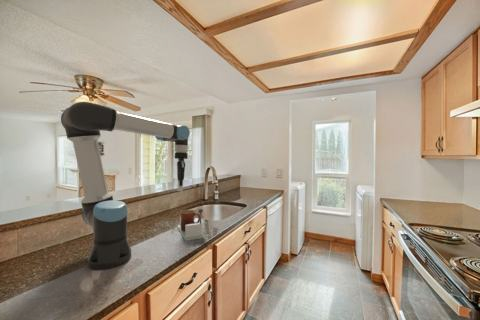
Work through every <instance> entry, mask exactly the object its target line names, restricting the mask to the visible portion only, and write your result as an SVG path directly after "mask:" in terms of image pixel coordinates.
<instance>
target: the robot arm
mask: <svg viewBox="0 0 480 320" xmlns="http://www.w3.org/2000/svg"><path fill="white" fill-rule="evenodd" d="M60 122H61V125H62V127H63V129H64V131H65V134H66V139H67V140H69V141H70V142H71V143H72V145H73V148H74V154H75V158H76V164H77V169H78V173H79V176H80V182H81V187H82V190H83V195H84V197H83V198H82V199H81V201H80V203H81V207H82V210H81V217H82V221H83V222H84V223H85V224H87V225H88V226H90V227H91V228H92V229H93V234H92V235H93V238H92V239H93V241H92V242H93V244H92V247H91V250H90V252H89V254H88V257H87V267H88V268H89V269H91V270H96V271H97V270H106V269H112V268H116V267H118V266H121V265H123V264H125V263H127V262H128V261H129V260H131V258H132V249H131V246H130V243H129V241H128V212H129V211H128V206H127V204H126V202H124V201H121V200H114V197H113V193H111V192H109V191H108V187H107V182H106V177H105V171H104V167H103V162H102V156H101V151H100V147H99V145H100V144H99V141H98V140H99V139H100V138H101V137H102V136H101V131H106V132H111V133H112V132H113V131H120V132H127V133H134V134H139V135H146V136H152V137H155V139H156V140H157V141H161V142H171V143H172V142H173V143H174V159H177V160H178V161H176V169H177V173H176V174H177V192H184V180H185V168H186V162H185V160H186V159H187V160H188V151H189V146H188V145H189V143H188V142H189V137H190V136H191V135H190V134H191V131H190V128H189V127H188V126H187V125H184V124H183V125H182V124H179V125H177V124H173V123H168V122H163V121H160V120H156V119H151V118H146V117H142V116H138V115H135V114H129V113H124V112H121V111H120V112H119V111H118V110H117V109H116V108H113V107H110V106H105V105H102V104H98V103H94V102H90V101H89V102H87V101H79V102H75V103H73V104H71V105H70V106H69V107H66V109H64V110H63V111H62V113H61V115H60Z"/></svg>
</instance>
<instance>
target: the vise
mask: <svg viewBox="0 0 480 320" xmlns="http://www.w3.org/2000/svg"><path fill="white" fill-rule="evenodd" d="M203 212H204V211H203V209H202V208H199V209H198V214H200V221H199V223H195V224H187V225H185V231H182V230H181V227H180V224H177V225H176V226H177V227H176V228H177V229H178V232H179V233H180V235H181V236H182V238H183V239H184V242H188V241H192V240H198V239H199V240H200V239H203V238H204V234H203V223H202V213H203Z"/></svg>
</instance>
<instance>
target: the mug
mask: <svg viewBox="0 0 480 320" xmlns="http://www.w3.org/2000/svg"><path fill="white" fill-rule="evenodd" d="M179 216H180V217H181V230H182V231H185V225H187V224H195V223H199V222H200V213H199V212H198V213H197V212H196V210H193V209H182V210H181V211H179ZM195 216H197V218H198V219H197V221H195Z"/></svg>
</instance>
